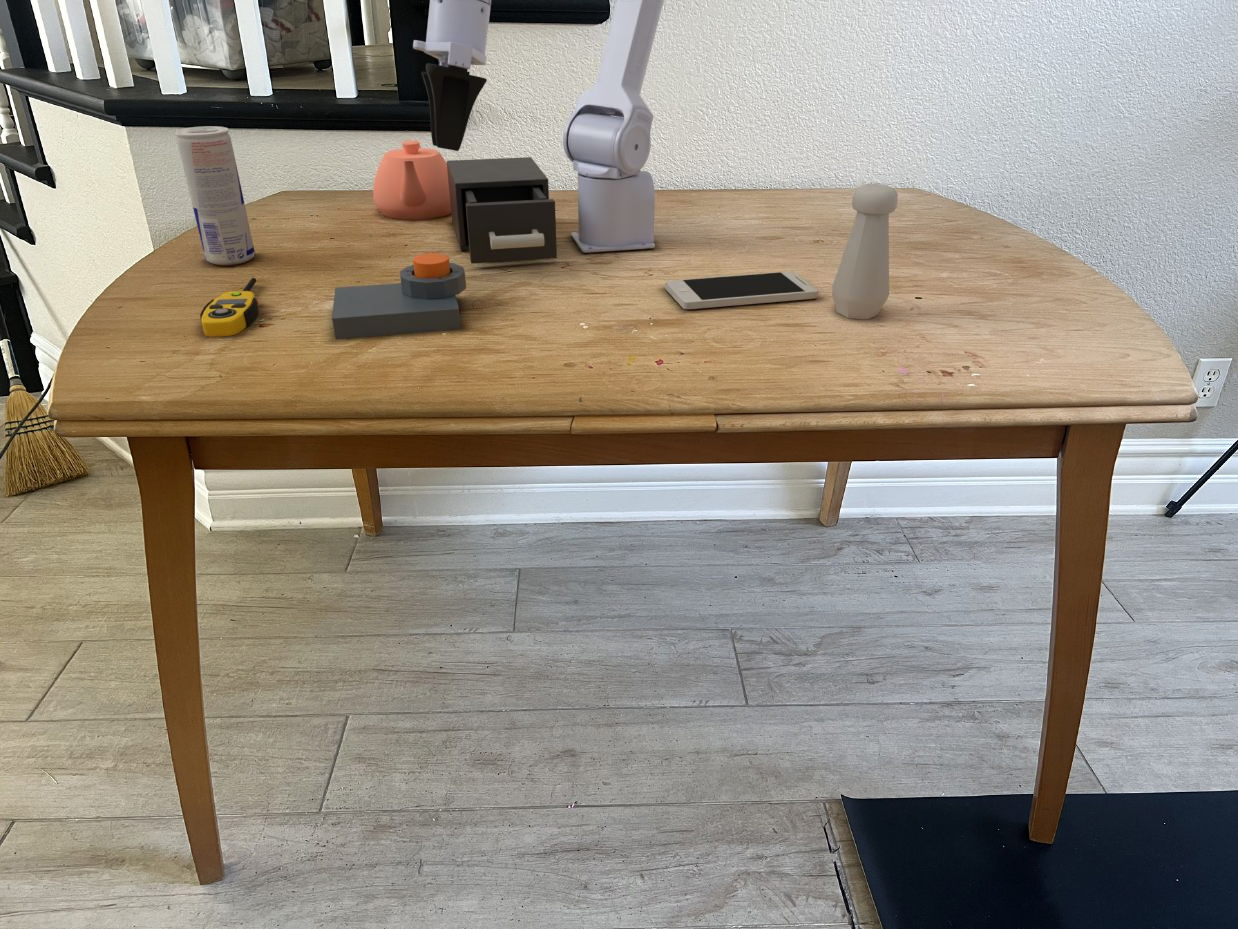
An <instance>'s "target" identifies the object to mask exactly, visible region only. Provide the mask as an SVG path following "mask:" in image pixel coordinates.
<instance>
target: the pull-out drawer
mask: <svg viewBox="0 0 1238 929" xmlns="http://www.w3.org/2000/svg"><path fill="white" fill-rule="evenodd" d="M463 199H464V211H465V223H466V233H467V236H468V239H469V251H468V252H469V261H470V264H471V265H474V264H487V263H488V264H489V263H503V262H515V261H516V262H517V261H533V260H547V259H557V257H558V255H557V252H558V251H557V250H558V249H557V223H556V222H557V221H556V218H557V217H556V200H554V198H549V199H546V197H545V196H544V194H543V193H542V191H541V190H540V189H539V187H538V186H537V185H529V186H509V187H488V188H467V189H463Z"/></svg>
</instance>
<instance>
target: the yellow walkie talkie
mask: <svg viewBox="0 0 1238 929" xmlns="http://www.w3.org/2000/svg"><path fill="white" fill-rule="evenodd" d="M256 283H257V279H256V278H255V277H251V278H250V279H249V281H248V283H247V284H246V285H245V287H244V288H243V289H242V290H238V291H237V290H236V291H235V290H234V291H227V292H224V293H222V294H221V295H219V296H217V297H216V298H215V299H214V298H212V299H211V300H210V301H208V302H207V303H206V305H205V306H203V308H202V310H201V312H200V315H199V316H200V322H201V327H202V331H203V334H204V335H205V336H206V337H211V338H217V337H218V338H219V337H221V338H222V337H223V338H224V337H232V336H235V335H237V334H239V333H241V332H242V331H243V330H244V329H245V328H249V327H250V326H251V325H252V324H253V323H254V322H255V321H256V320H257V317H258V315H259V306H258V305H259V302H258V299H257V298H256V297H255V293H254V292H253V291H251V290H252V288H253V287H254V286H255V284H256Z"/></svg>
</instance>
